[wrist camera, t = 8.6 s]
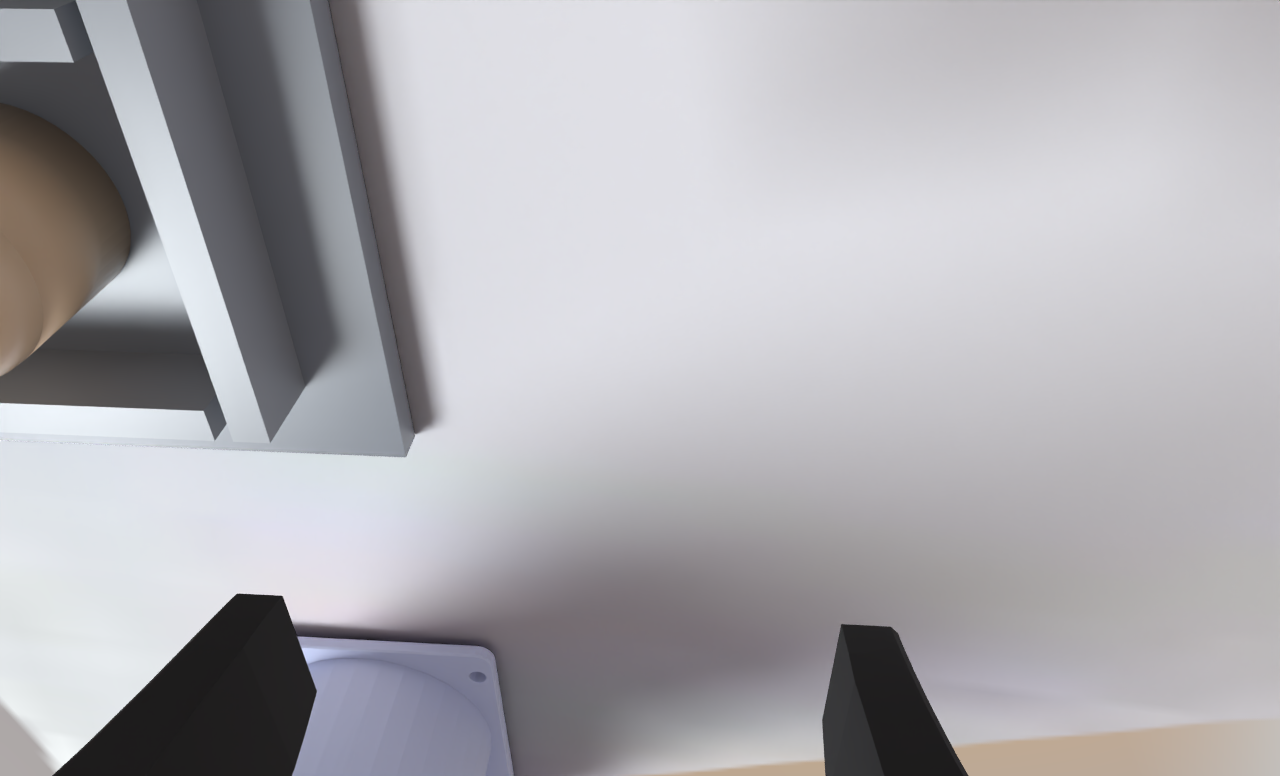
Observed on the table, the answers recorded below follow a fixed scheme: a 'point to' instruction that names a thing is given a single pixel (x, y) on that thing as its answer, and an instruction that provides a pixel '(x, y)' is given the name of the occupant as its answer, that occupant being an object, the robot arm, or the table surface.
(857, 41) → the table surface
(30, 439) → the carton
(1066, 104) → the table surface
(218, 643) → the robot arm
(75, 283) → the loose egg
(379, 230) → the table surface
